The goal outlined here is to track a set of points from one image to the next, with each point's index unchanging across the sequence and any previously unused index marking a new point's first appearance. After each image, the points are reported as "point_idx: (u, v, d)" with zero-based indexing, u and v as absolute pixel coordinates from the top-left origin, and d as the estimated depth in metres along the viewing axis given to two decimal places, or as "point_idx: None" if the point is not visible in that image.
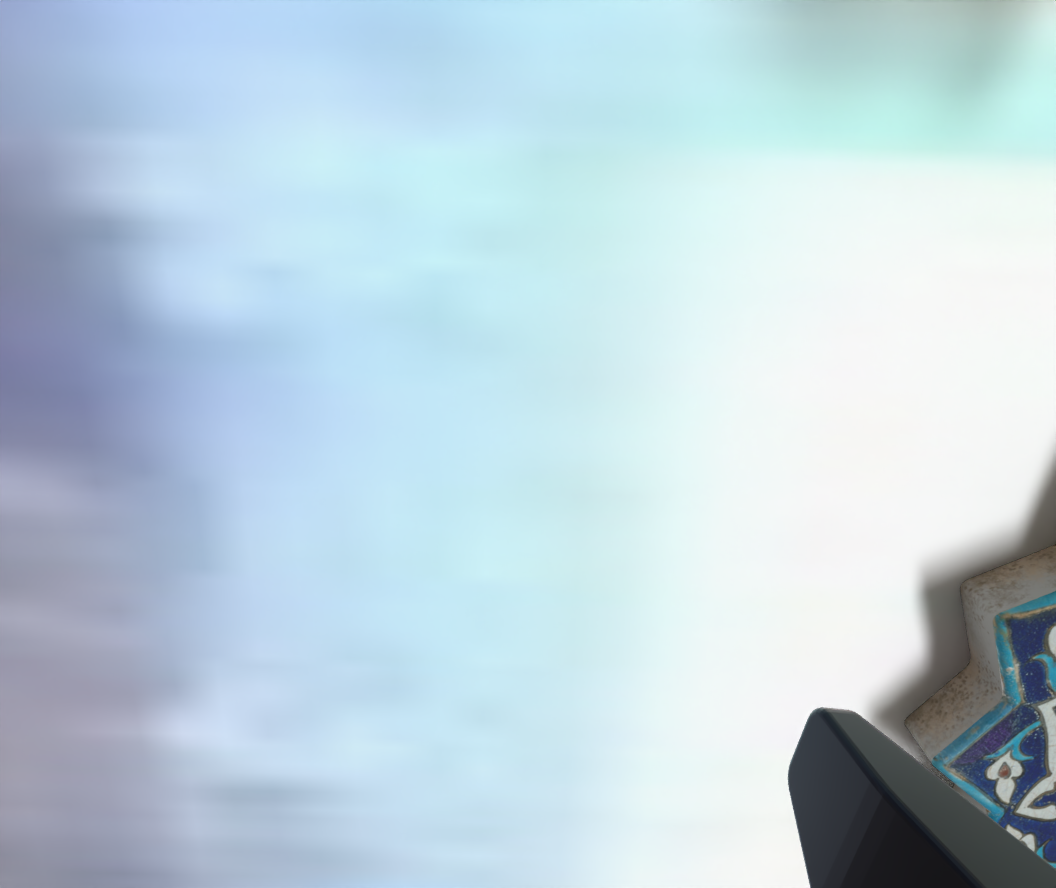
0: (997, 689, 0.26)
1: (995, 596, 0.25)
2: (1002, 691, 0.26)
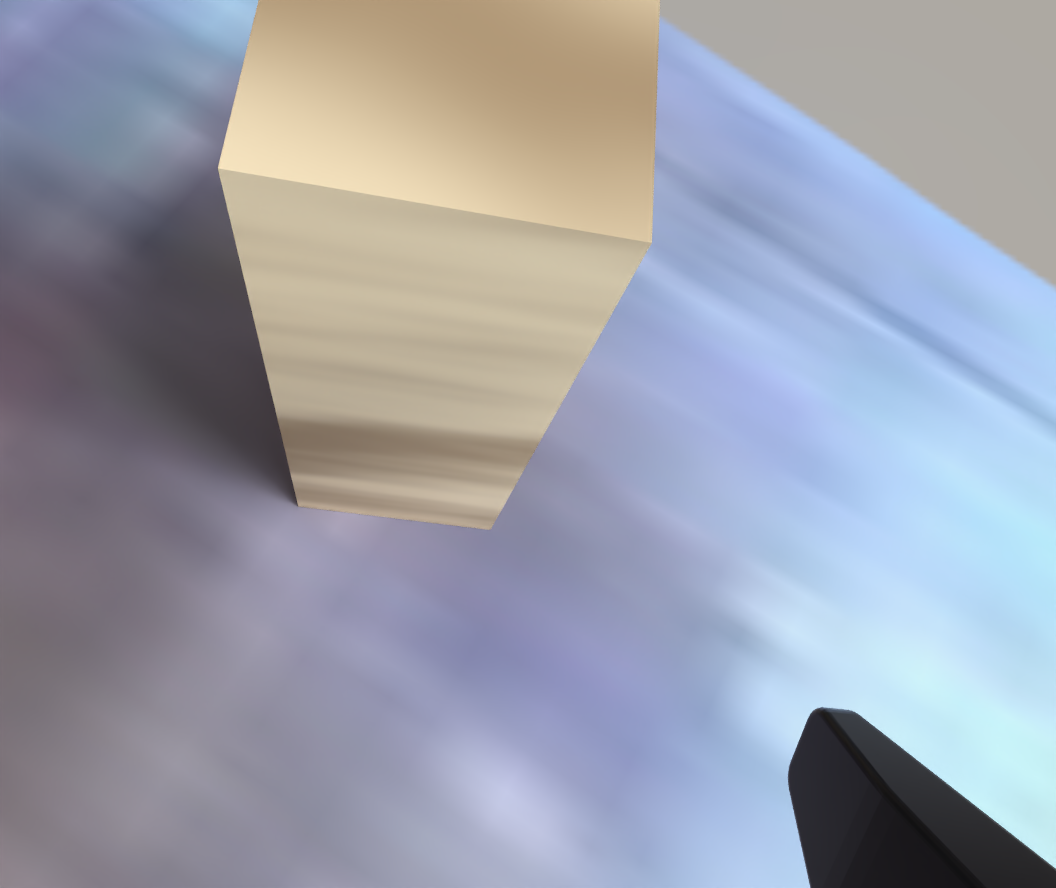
0: None
1: None
2: None
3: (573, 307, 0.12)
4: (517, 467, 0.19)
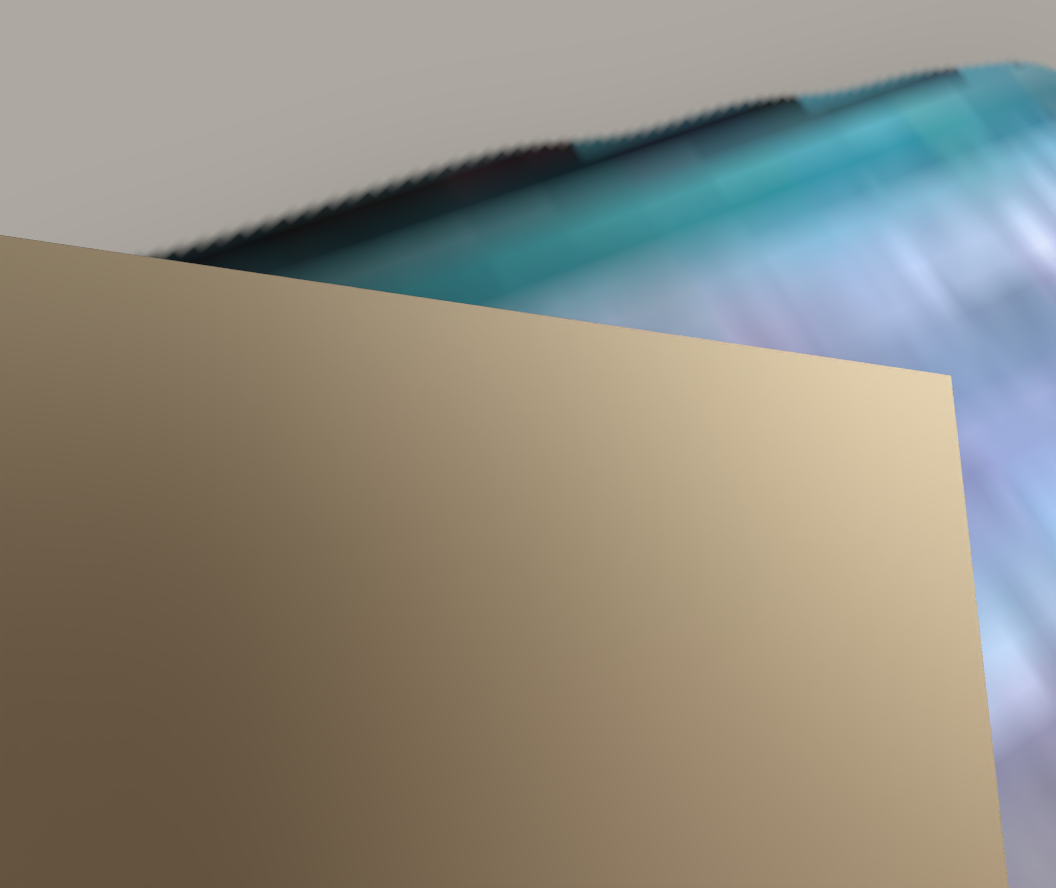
0: None
1: None
2: None
3: None
4: None
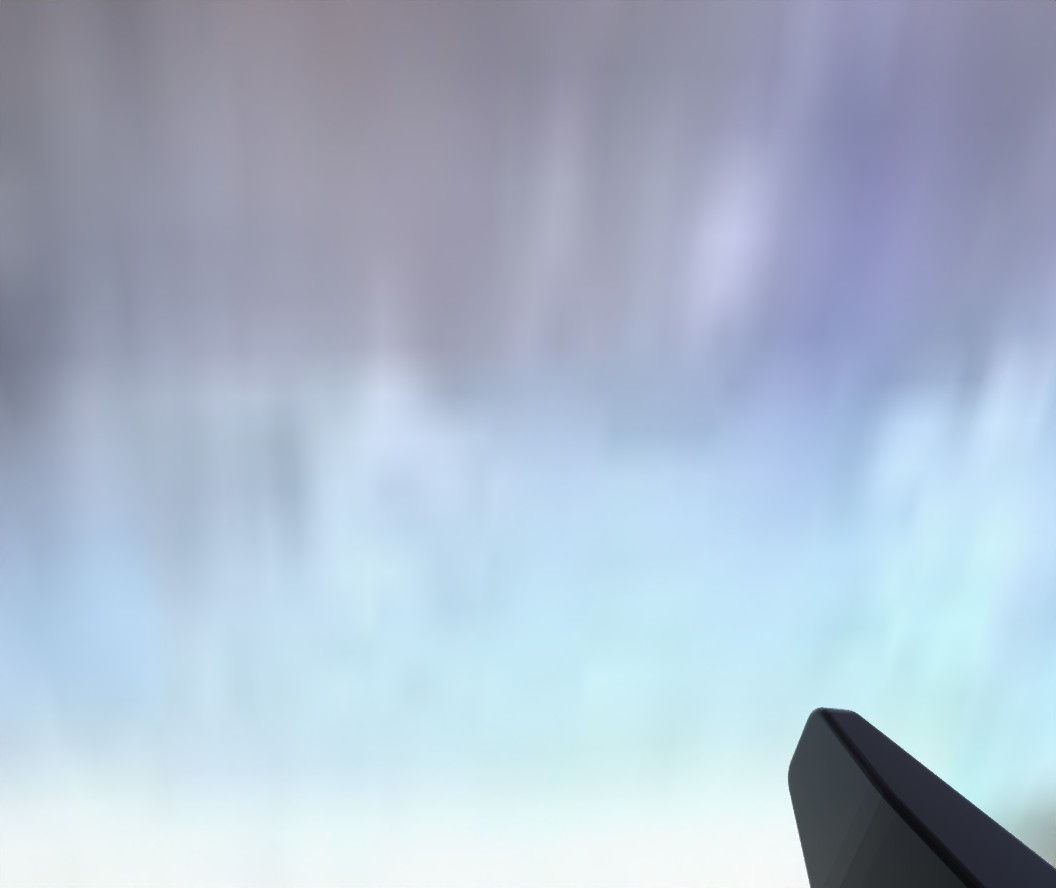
0: None
1: None
2: None
3: None
4: None
